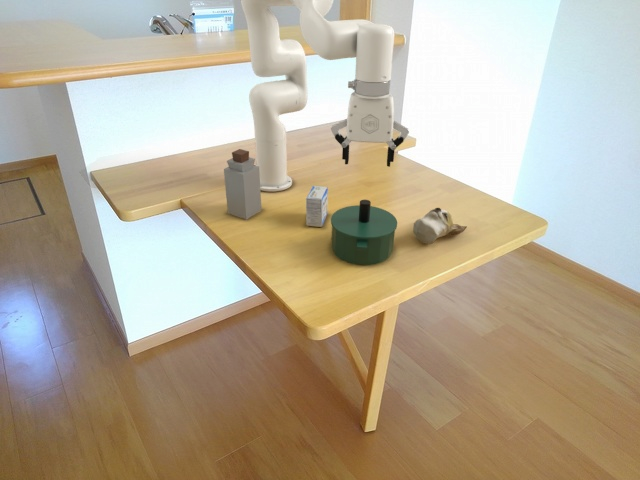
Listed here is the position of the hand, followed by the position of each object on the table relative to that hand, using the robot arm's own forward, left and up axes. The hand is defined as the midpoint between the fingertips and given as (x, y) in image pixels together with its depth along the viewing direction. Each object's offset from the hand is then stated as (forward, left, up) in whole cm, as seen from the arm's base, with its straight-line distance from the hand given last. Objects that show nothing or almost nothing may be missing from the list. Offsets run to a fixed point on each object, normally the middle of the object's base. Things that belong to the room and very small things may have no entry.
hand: (367, 163), depth 111 cm
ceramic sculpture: (+19, +7, -22) cm, 30 cm away
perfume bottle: (-34, +13, -22) cm, 43 cm away
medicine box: (-13, +11, -22) cm, 28 cm away
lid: (0, -2, -15) cm, 15 cm away
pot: (0, -2, -22) cm, 22 cm away
